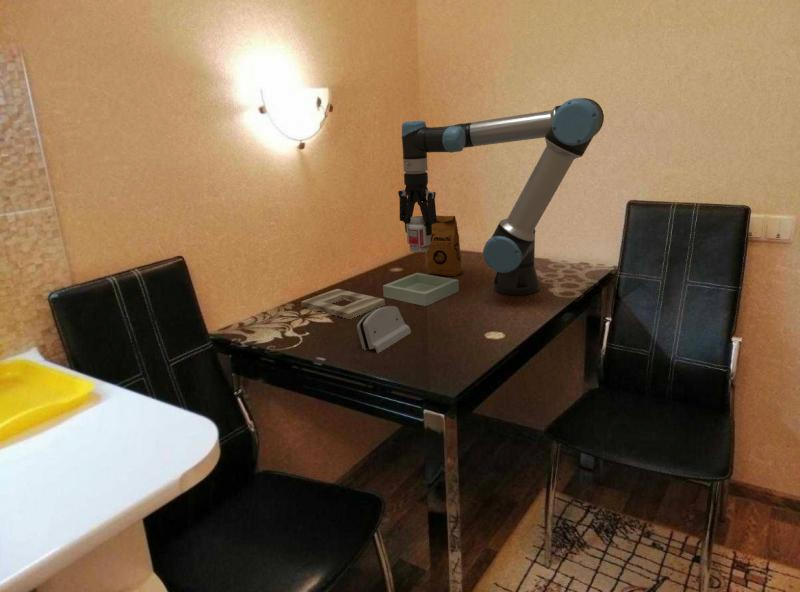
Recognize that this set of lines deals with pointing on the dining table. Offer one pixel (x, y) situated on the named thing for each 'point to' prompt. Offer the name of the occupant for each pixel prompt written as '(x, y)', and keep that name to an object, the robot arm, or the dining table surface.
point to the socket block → (348, 311)
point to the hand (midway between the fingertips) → (418, 243)
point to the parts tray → (421, 289)
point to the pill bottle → (417, 235)
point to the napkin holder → (382, 328)
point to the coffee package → (444, 247)
